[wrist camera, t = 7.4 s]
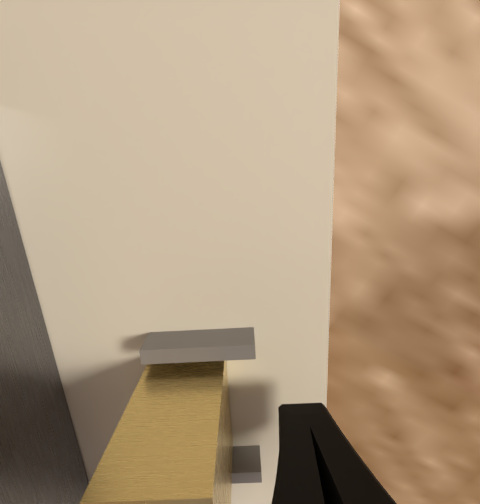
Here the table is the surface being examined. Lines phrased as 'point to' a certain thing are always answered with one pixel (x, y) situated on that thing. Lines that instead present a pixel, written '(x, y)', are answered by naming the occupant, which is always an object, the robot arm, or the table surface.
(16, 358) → the block
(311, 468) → the robot arm
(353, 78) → the table surface
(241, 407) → the hearth board
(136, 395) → the block
